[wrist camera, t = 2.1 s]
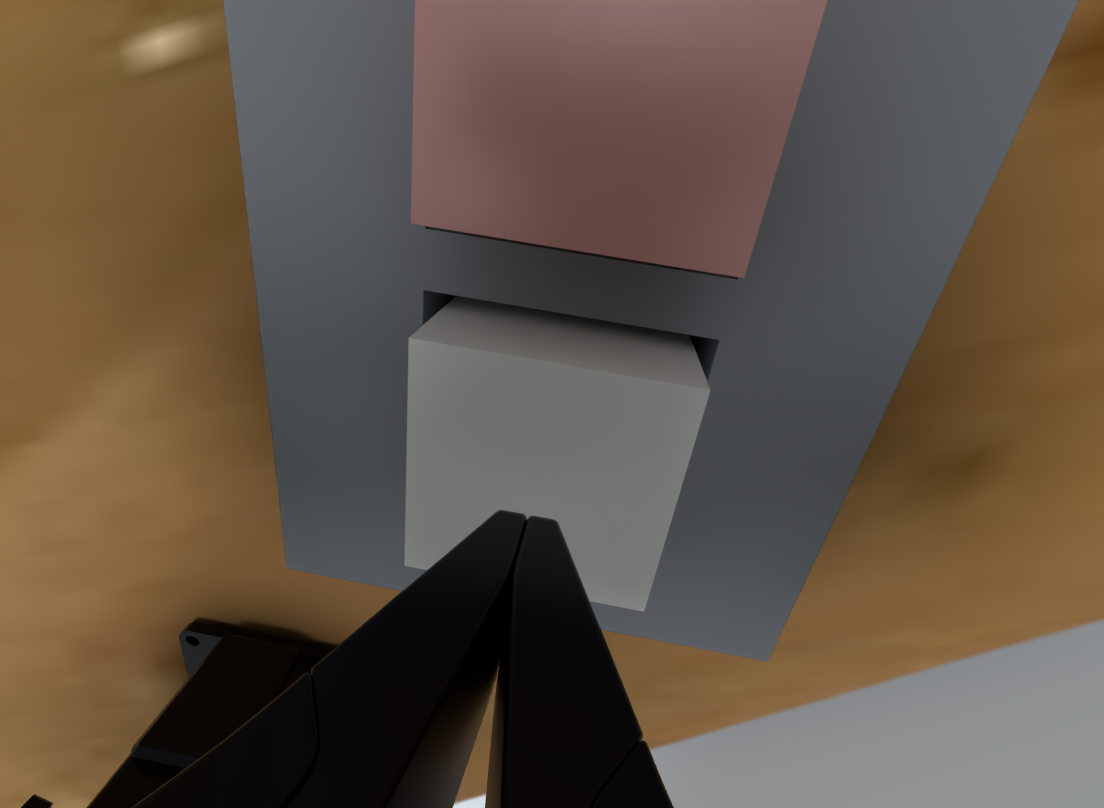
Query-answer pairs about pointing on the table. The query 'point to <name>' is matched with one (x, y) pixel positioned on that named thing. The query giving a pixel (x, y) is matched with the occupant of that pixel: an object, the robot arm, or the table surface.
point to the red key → (607, 122)
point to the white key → (551, 435)
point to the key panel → (624, 284)
